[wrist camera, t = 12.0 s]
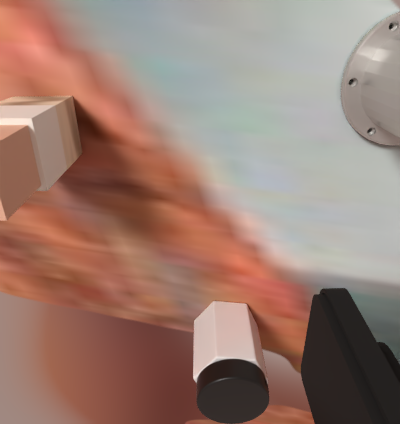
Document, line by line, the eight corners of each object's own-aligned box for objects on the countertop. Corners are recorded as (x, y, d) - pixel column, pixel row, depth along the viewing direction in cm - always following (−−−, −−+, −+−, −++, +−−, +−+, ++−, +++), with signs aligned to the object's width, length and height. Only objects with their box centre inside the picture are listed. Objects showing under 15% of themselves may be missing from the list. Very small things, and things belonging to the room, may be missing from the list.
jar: (228, 352, 53) (236, 434, 42) (183, 328, 51) (180, 409, 40) (268, 316, 50) (288, 395, 39) (222, 289, 47) (229, 365, 37)
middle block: (55, 105, 31) (31, 118, 27) (67, 169, 34) (47, 190, 30) (-13, 105, 31) (-48, 118, 27) (4, 169, 34) (-25, 191, 30)
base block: (72, 95, 36) (54, 105, 31) (82, 153, 39) (67, 169, 34) (13, 96, 36) (-14, 106, 31) (27, 153, 39) (5, 170, 34)
